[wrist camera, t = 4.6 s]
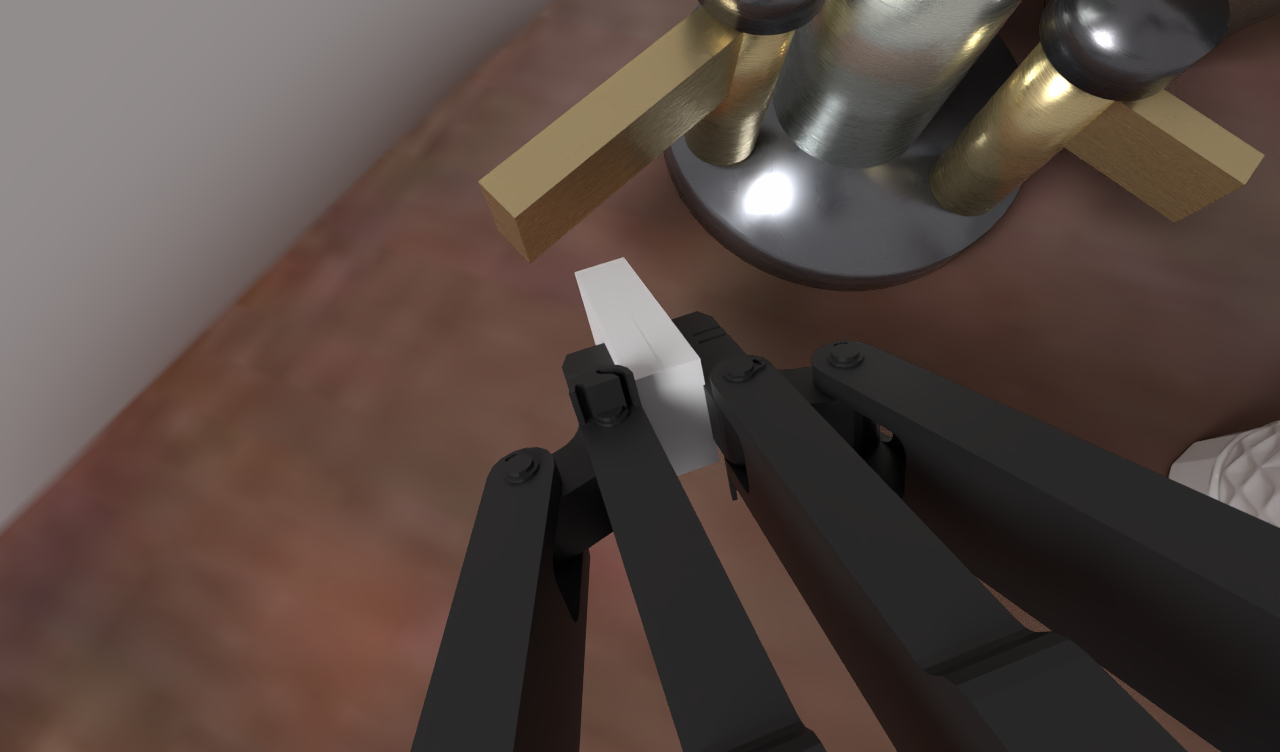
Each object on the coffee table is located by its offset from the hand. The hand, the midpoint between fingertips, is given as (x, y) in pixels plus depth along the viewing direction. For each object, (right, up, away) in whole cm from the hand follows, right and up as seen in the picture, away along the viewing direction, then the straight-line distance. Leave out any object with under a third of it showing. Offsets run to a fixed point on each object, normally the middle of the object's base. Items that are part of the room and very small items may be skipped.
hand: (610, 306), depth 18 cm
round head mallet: (+1, +6, +8) cm, 9 cm away
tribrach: (+10, +10, +11) cm, 18 cm away
